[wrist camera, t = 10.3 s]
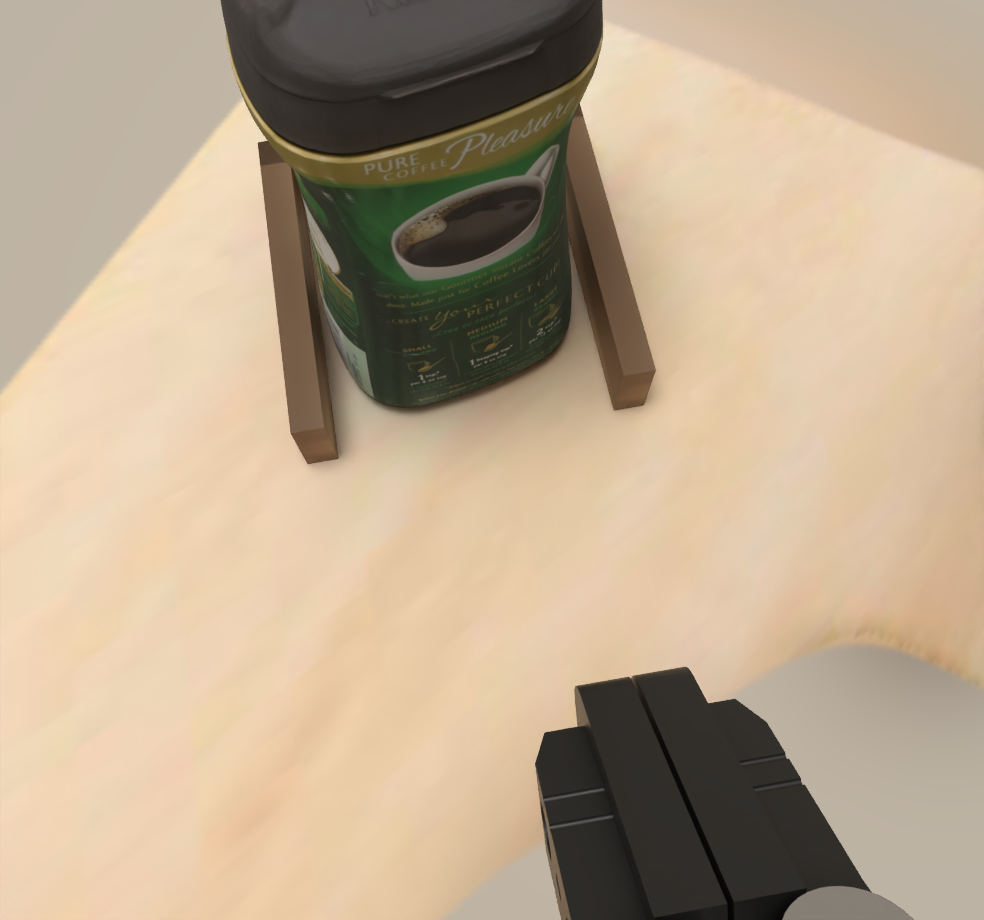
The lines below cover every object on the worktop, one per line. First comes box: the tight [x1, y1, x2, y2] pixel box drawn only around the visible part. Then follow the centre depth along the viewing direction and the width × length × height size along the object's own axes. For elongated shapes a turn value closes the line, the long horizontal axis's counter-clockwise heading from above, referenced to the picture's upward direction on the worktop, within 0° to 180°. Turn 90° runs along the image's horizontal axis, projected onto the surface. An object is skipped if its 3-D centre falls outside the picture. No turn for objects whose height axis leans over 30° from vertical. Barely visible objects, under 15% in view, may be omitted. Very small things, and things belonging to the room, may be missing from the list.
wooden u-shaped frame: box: [258, 103, 656, 464], centre depth 36 cm, size 13×13×3 cm
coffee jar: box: [221, 0, 603, 407], centre depth 28 cm, size 10×8×19 cm
